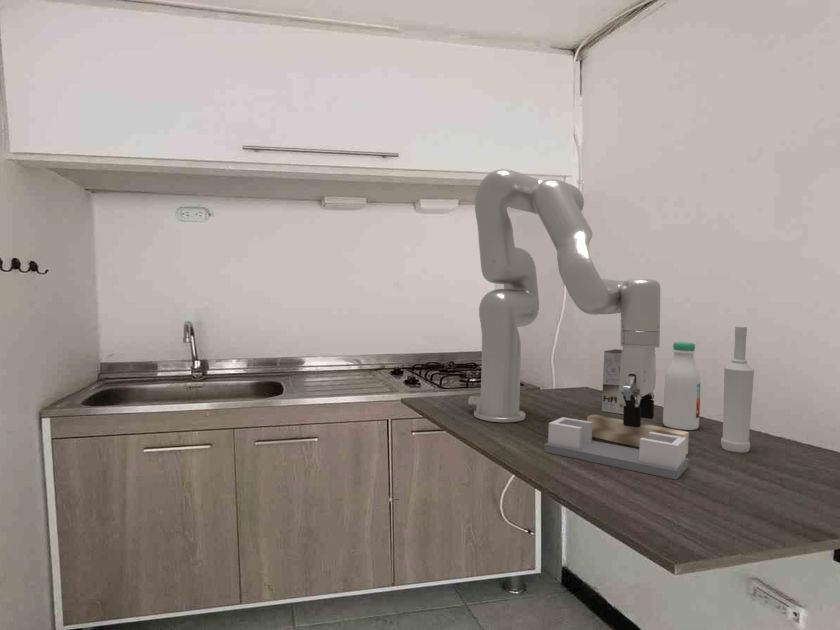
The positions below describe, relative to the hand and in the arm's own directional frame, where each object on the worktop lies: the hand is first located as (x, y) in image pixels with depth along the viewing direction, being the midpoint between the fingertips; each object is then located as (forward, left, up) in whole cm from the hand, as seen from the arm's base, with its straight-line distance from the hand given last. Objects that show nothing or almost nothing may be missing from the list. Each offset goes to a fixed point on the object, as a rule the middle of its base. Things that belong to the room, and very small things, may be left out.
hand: (638, 422), depth 113 cm
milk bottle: (+3, +23, -5) cm, 24 cm away
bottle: (+16, +10, -5) cm, 20 cm away
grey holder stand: (-1, -13, -5) cm, 14 cm away
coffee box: (-14, +31, -5) cm, 34 cm away
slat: (-1, 0, -5) cm, 5 cm away
